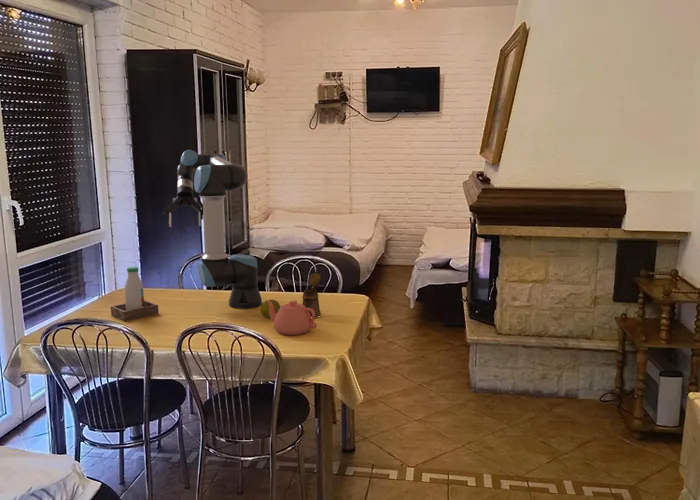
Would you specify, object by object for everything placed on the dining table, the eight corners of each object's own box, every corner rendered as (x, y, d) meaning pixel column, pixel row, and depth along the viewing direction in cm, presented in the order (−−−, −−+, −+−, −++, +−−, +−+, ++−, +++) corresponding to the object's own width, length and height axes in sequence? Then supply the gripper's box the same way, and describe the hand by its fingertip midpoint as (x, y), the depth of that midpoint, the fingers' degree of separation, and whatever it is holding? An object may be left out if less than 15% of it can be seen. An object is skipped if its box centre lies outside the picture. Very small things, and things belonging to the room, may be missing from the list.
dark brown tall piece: (326, 311, 285) (326, 272, 281) (317, 319, 272) (316, 278, 269) (308, 309, 287) (307, 270, 284) (297, 317, 274) (297, 277, 271)
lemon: (270, 322, 268) (270, 303, 266) (256, 319, 272) (255, 301, 270) (285, 316, 277) (285, 298, 276) (271, 313, 281) (271, 295, 279)
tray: (158, 313, 279) (158, 305, 279) (125, 321, 268) (124, 312, 268) (144, 308, 288) (143, 299, 287) (111, 315, 277) (110, 306, 276)
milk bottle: (138, 315, 273) (135, 269, 270) (122, 314, 275) (119, 269, 272) (148, 310, 281) (145, 266, 277) (132, 309, 283) (129, 265, 279)
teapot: (257, 334, 252) (257, 303, 250) (273, 323, 267) (272, 294, 265) (310, 339, 246) (310, 308, 244) (322, 327, 261) (322, 298, 259)
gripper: (211, 194, 318) (212, 228, 306) (159, 195, 313) (158, 230, 301) (210, 185, 312) (211, 219, 300) (157, 185, 307) (156, 220, 295)
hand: (184, 224), depth 301 cm, fingers open, 13 cm apart
